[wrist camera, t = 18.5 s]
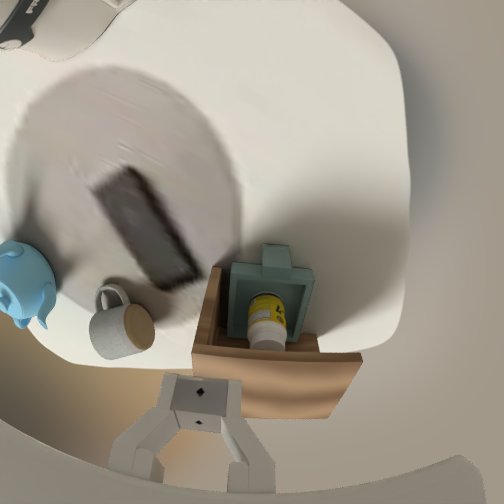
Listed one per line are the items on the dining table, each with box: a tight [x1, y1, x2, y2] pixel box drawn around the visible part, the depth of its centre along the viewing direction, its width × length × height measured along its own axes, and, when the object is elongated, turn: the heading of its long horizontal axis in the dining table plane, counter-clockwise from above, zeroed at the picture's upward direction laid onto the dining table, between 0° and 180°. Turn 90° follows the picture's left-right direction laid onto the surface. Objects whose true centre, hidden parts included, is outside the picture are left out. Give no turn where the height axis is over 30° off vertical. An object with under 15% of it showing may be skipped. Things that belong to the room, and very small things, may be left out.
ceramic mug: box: [89, 284, 155, 360], centre depth 37 cm, size 11×8×8 cm
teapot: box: [0, 240, 56, 329], centre depth 33 cm, size 15×15×10 cm
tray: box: [227, 243, 314, 342], centre depth 35 cm, size 14×10×5 cm
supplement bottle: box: [247, 291, 287, 351], centre depth 34 cm, size 5×5×8 cm
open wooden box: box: [191, 267, 363, 419], centre depth 33 cm, size 12×16×14 cm
